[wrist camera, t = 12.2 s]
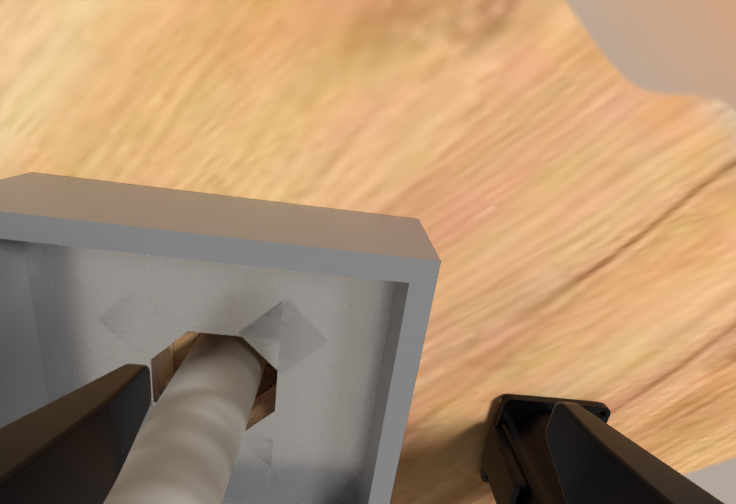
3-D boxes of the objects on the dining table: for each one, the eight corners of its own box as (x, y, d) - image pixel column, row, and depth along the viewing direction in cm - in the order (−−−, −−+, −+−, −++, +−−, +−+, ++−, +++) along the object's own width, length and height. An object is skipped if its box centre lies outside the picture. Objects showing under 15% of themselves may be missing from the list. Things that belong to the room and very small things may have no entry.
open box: (418, 219, 20) (441, 261, 15) (369, 486, 26) (373, 580, 21) (31, 172, 19) (-91, 201, 14) (76, 466, 25) (5, 562, 20)
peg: (268, 328, 22) (207, 499, 13) (265, 389, 23) (207, 583, 14) (192, 321, 22) (72, 491, 12) (193, 382, 23) (86, 577, 14)
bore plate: (395, 235, 20) (400, 253, 18) (355, 473, 26) (356, 511, 24) (57, 196, 19) (16, 210, 17) (92, 455, 25) (64, 492, 22)
